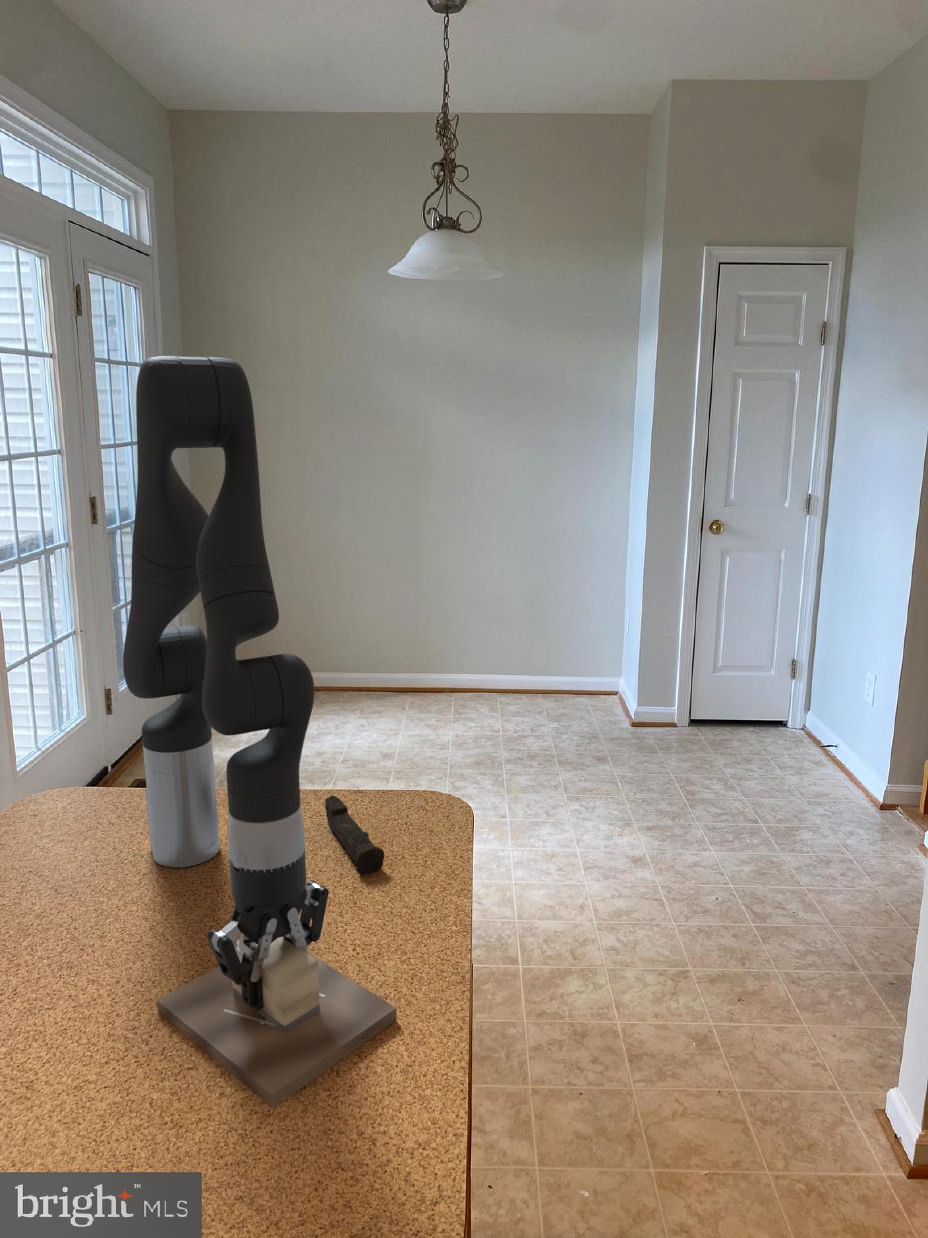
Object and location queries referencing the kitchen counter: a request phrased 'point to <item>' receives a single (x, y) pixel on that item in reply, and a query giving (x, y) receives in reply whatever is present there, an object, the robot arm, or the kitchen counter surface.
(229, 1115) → the kitchen counter surface
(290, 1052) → the walnut board
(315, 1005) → the block
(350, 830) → the hand tool
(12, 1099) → the kitchen counter surface
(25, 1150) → the kitchen counter surface
